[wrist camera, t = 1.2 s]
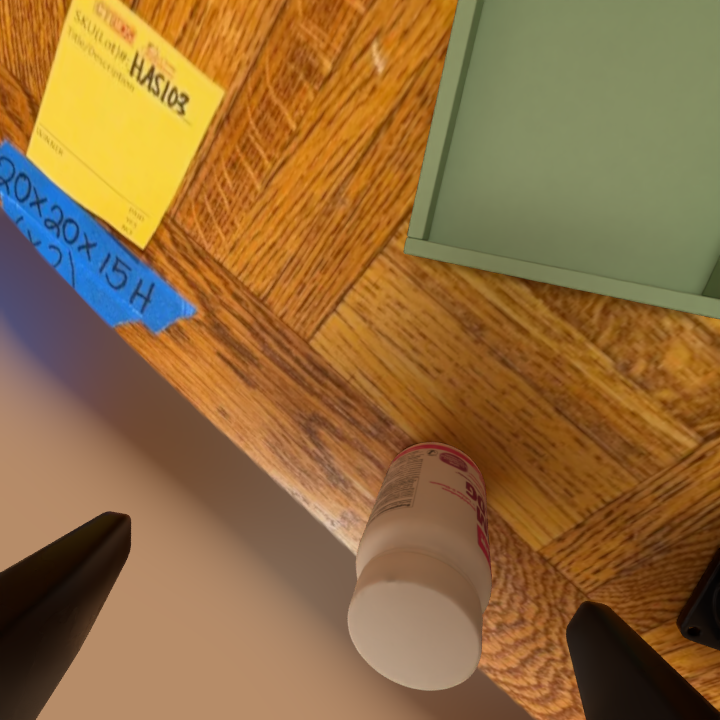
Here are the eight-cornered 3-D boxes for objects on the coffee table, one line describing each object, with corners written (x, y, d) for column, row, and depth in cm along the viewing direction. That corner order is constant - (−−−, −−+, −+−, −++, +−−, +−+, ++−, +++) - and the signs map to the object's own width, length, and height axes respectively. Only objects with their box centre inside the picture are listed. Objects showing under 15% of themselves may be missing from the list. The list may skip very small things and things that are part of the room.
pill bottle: (507, 494, 19) (534, 671, 11) (431, 541, 20) (406, 723, 12) (439, 419, 19) (417, 542, 11) (368, 472, 20) (304, 612, 12)
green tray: (704, 313, 15) (748, 325, 12) (412, 253, 17) (402, 253, 15) (881, -66, 11) (988, -148, 9) (486, -80, 14) (490, -149, 11)
